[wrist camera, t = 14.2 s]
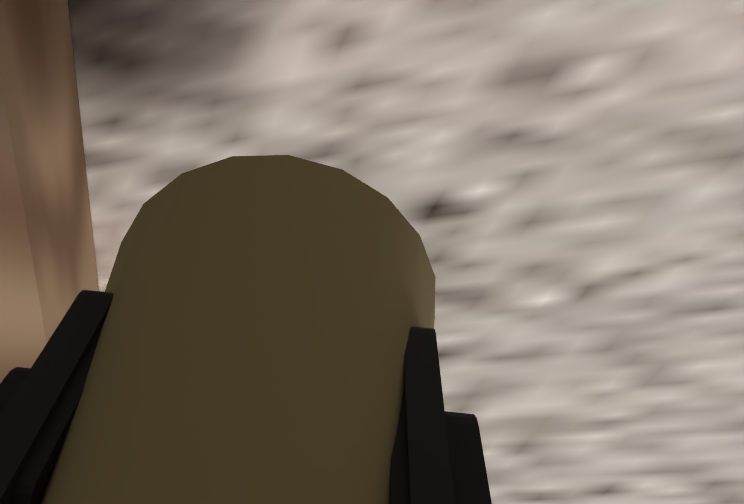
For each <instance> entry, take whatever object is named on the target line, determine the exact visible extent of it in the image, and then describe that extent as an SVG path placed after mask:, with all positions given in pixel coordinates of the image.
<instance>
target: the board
mask: <svg viewBox="0 0 744 504" xmlns="http://www.w3.org/2000/svg"><path fill="white" fill-rule="evenodd" d="M82 290H91V291H99V286H98V277H97V268H96V258H95V249H94V240H93V231H92V221H91V212H90V203H89V194H88V184H87V175H86V166H85V156H84V147H83V138H82V129H81V119H80V110H79V101H78V91H77V82H76V73H75V64H74V54H73V45H72V36H71V26H70V17H69V8H68V0H0V384H1V382H2V381H3V379H4V378H5V377H6V375H7V374H8V373H9V372H10V371H11V370H12V369H14V368H16V367H23V368H31V367H32V366H33V364H34V363H35V361H36V359H37V358H38V356H39V355H40V353H41V352H42V350H43V348H44V347H45V345H46V344H47V342H48V341H49V339H50V338H51V336H52V334H53V333H54V331H55V330H56V328H57V327H58V325H59V323H60V322H61V320H62V319H63V317H64V316H65V314H66V313H67V311H68V309H69V308H70V306H71V305H72V303H73V302H74V300H75V298H76V297H77V295H78V294H79V293H80V292H81V291H82Z"/></svg>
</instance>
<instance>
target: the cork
mask: <svg viewBox="0 0 744 504" xmlns="http://www.w3.org/2000/svg"><path fill="white" fill-rule="evenodd" d="M105 292H109V293H113V294H114V295H113V299H112V302H111V305H110V307H109V310H108V312H107V315H106V318H105V320H104V323H103V326H102V329H101V332H100V336H99V339H98V342H97V346H96V349H95V352H94V355H93V359H92V362H91V365H90V369H89V372H88V375H87V378H86V382H85V385H84V389H83V393H82V395H81V398H80V400H79V403H78V405H77V408H76V411H75V413H74V416H73V419H72V421H71V424H70V427H69V429H68V432H67V435H66V437H65V440H64V443H63V445H62V448H61V451H60V453H59V456H58V459H57V461H56V464H55V467H54V470H53V472H52V475H51V478H50V480H49V483H48V486H47V488H46V491H45V494H44V496H43V499H42V502H41V504H390V468H391V455H392V451H393V446H394V441H395V437H396V432H397V427H398V421H399V415H400V409H401V403H402V397H403V390H404V354H405V349H406V345H407V341H408V335H409V330H410V327H412V326H415V327H424V328H433V329H434V319H435V275H434V272H433V270H432V267H431V264H430V262H429V259H428V256H427V254H426V251H425V248H424V246H423V243H422V240H421V237H420V235H419V234H418V233H417V232H416V230H415V229H414V228H413V227H412V226H411V225H410V223H409V222H408V221H407V220H406V219H405V217H404V216H403V215H402V214H401V213H400V212H399V210H398V209H397V208H396V207H395V206H394V205H393V203H392V202H391V201H390V200H389V199H388V198H387V197H386V196H384V195H382V194H381V193H379V192H378V191H376V190H374V189H373V188H371V187H369V186H368V185H366V184H365V183H363V182H361V181H360V180H358V179H357V178H355V177H353V176H352V175H350V174H348V173H347V172H345V171H344V170H342V169H338V168H334V167H330V166H327V165H323V164H319V163H316V162H312V161H308V160H304V159H301V158H297V157H293V156H290V155H271V156H232V157H229V158H226V159H223V160H220V161H217V162H214V163H212V164H209V165H206V166H203V167H200V168H197V169H194V170H191V171H188V172H185V173H182V174H181V175H180V176H178V177H177V178H176V179H174V180H173V181H172V182H171V183H169V184H168V185H167V186H166V187H164V188H163V189H162V190H161V191H159V192H158V193H157V194H155V195H154V196H153V197H152V198H150V199H149V200H148V201H147V202H145V203H144V204H143V206H142V208H141V209H140V211H139V213H138V215H137V216H136V218H135V220H134V221H133V223H132V225H131V227H130V228H129V230H128V232H127V234H126V235H125V237H124V239H123V241H122V242H121V245H120V248H119V251H118V254H117V257H116V260H115V263H114V266H113V269H112V272H111V275H110V278H109V281H108V284H107V287H106V290H105Z"/></svg>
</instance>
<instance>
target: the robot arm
mask: <svg viewBox="0 0 744 504" xmlns="http://www.w3.org/2000/svg"><path fill="white" fill-rule="evenodd" d="M113 295H114V294H113V293H109V292H100V291H91V290H82V291H81V292H80V293H79V294H78V295H77V297H76V298H75V300H74V302H73V303H72V305H71V306H70V308H69V309H68V311H67V313H66V314H65V316H64V317H63V319H62V320H61V322H60V323H59V325H58V327H57V328H56V330H55V331H54V333H53V334H52V336H51V338H50V339H49V341H48V342H47V344H46V345H45V347H44V348H43V350H42V352H41V353H40V355H39V356H38V358H37V359H36V361H35V363H34V364H33V366H32V367H31V368H23V367H16V368H14V369H12V370H11V371H10V372H9V373H8V374H7V375H6V377H5V378H4V379H3V381H2V382H1V384H0V504H41V502H42V499H43V496H44V494H45V491H46V488H47V486H48V483H49V480H50V478H51V475H52V472H53V470H54V467H55V464H56V461H57V459H58V456H59V453H60V451H61V448H62V445H63V443H64V440H65V437H66V435H67V432H68V429H69V427H70V424H71V421H72V419H73V416H74V413H75V411H76V408H77V405H78V403H79V400H80V398H81V395H82V393H83V389H84V385H85V382H86V378H87V375H88V372H89V369H90V365H91V362H92V359H93V355H94V352H95V349H96V346H97V342H98V339H99V336H100V332H101V329H102V326H103V323H104V320H105V318H106V315H107V312H108V310H109V307H110V305H111V302H112V299H113ZM390 504H492V503H491V497H490V491H489V485H488V479H487V473H486V467H485V461H484V455H483V449H482V443H481V437H480V431H479V425H478V422H477V418H476V417H475V415H474V414H465V413H455V412H446V411H444V403H443V394H442V385H441V376H440V367H439V358H438V350H437V341H436V333H435V330H434V329H433V328H424V327H415V326H412V327H410V330H409V335H408V341H407V345H406V349H405V354H404V390H403V397H402V403H401V409H400V415H399V421H398V427H397V432H396V437H395V441H394V446H393V451H392V455H391V468H390Z"/></svg>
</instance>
